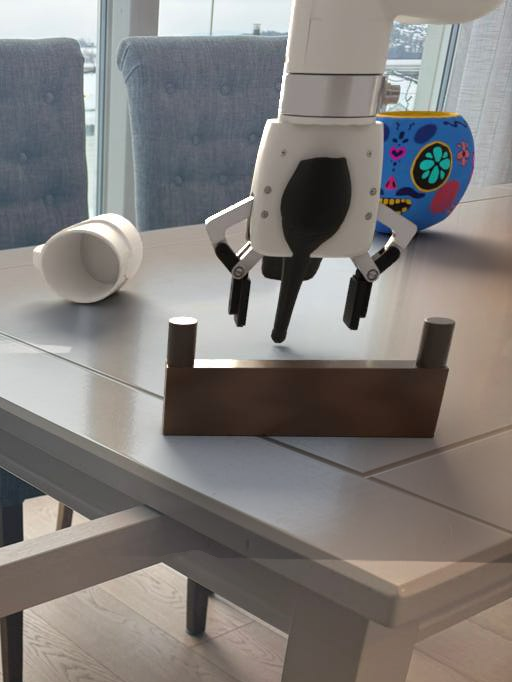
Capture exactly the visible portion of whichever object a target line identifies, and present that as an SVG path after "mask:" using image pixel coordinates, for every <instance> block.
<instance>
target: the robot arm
mask: <svg viewBox="0 0 512 682" xmlns="http://www.w3.org/2000/svg"><path fill="white" fill-rule="evenodd" d="M506 1H507V0H292V6H291V12H290V13H291V15H290V22H289V28H288V37H287V43H286V52H285V59H284V66H283V75H282V83H281V90H280V99H279V105H278V107H279V108H278V113H277V118H271V119H267V120H266V123H265V125H264V129H263V133H262V136H261V140H260V144H259V148H258V152H257V157H256V161H255V166H254V171H253V177H252V182H251V187H250V193H249V197H247V198H245V199H243V200H241V201H239V202H237V203H235V204H234V205H231V206H229V207H227V208H226V209H223V210H221V211H220V212H218V213H216V214H214V215H212V216H210V217H208V218H207V219H205V222H204V227H205V230H206V233H207V235H208V238H209V241H210V243H211V246H212V249H213V251H214V254H215V255H216V257H217V259H218V260H219V261H220V262H221V264H222V265H223V266H224V267H225V268H226V269H227V271H228V272H229V273H230V274H231V279H230V287H229V297H228V304H227V313H228V315H229V316H233V321H234V323H235V326H236V328H244V327H246V324H247V316H248V309H249V301H250V294H251V286H252V280H251V278H250V276H249V273H250V271H251V270H252V269H253V268H254V267H255V266H256V265H257V264H258V263H259V262H260V260H262V257H263V256H264V255H265V256H276V257H292V255H293V253H292V251H291V250H290V248H289V246H288V244H287V242H286V240H285V237H284V234H283V229H282V216H281V211H280V205H281V199H282V195H283V193H284V190H285V188H286V186H287V184H288V182H289V180H290V179H291V177H292V175H293V174H294V172H295V170H296V168H297V166H298V164H299V163H300V161H302V160H307V159H312V158H315V157H330V158H341V157H345V158H346V160H347V165H348V169H349V173H350V178H351V186H352V195H351V202H350V207H349V210H348V212H347V215H346V217H345V220H344V222H343V223H342V225H341V226H340V228H339V230H338V231H337V232H336V233H335V234H334V235H333V236H332V237H331V238H330V239H328V240H327V241H326V242H324V243H323V244H321V245H320V246H319V247H318V248H317V249H316V250H315V251H314V252H312V253H311V254H310V257H315V258H323V259H324V258H325V259H330V258H331V259H348V258H349V259H350V261H351V262H352V264H353V266H354V267H355V273H354V274H352V276H350V278H349V282H348V288H347V289H348V290H347V293H346V299H345V303H344V304H345V305H344V308H343V309H344V310H343V315H342V322H343V323H344V325H345V326H346V327H347V329H349V330H350V331H358V329H359V326H360V321H361V319H365V318H366V317H367V314H368V309H369V304H370V300H371V299H370V298H371V293H372V288H373V283H375V282H376V281H377V280H378V279H379V278H380V275H381V274H383V273H384V272H385V271H387V270H388V269H389V268H390V267H391V266H392V265H393V264H395V263H396V262H397V261H399V259H400V257H401V254H402V252H403V251H404V250H405V249H406V248H407V246H408V245H409V243H410V242H411V241H412V239H413V238H414V237H415V235H416V233H418V231H417V226H416V225H415V224H414V223H412V222H411V221H409V220H408V219H406V218H404V217H403V216H401V215H400V214H398V213H397V212H395V211H393V210H392V209H390V208H389V207H387V206H386V205H384V204H383V203H381V202H379V197H380V188H381V176H382V165H383V145H384V130H383V123H382V122H380V121H376V115H377V114H379V113H381V110H382V109H383V107H387V106H388V105H397V104H398V102H399V100H400V95H401V84H392V83H391V82H388V80H387V75H385V72H386V67H387V60H388V55H389V49H390V44H391V39H392V33H393V29H394V28H393V27H394V22H396V23H399V24H402V25H413V26H419V25H434V26H435V25H436V26H441V25H442V26H443V25H445V26H446V25H447V26H448V25H461V24H465V23H470V22H473V21H476V20H478V19H481V18H483V17H486V16H487V15H489V14H491V13H492V12H494V11H495V10H497V9H498V8H499V7H501V6H502V5H503V4H504V3H505V2H506ZM283 152H285V153H283ZM244 220H245V228H244V236H245V237H244V238H245V240H246V242H247V243H246V244H245V245H244V246H243V247H242V248H241V249H240V250H239V251H238V253H236V252H235V251H234V250H233V249H232V248H231V246H230V245H229V243H228V241H227V237H226V235H225V234H226V231H227V229H229V228H231V227H232V226H234V225H237V224H238V223H241V222H242V221H244ZM376 220H378V221H379V222H381V223H382V224H384V225H385V226H387V227H389V228H390V229H391V230H392V233H391V236H390V238H389V239H388V241H387V242H386V244H385V245H383V246H382V247H381V248H380V249H379V250H377V251H376V252H375V253H374V254H373V255H371V254H370V252H369V250H370V248H371V247H372V243H373V239H374V236H375V232H376V231H375V226H376Z"/></svg>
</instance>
